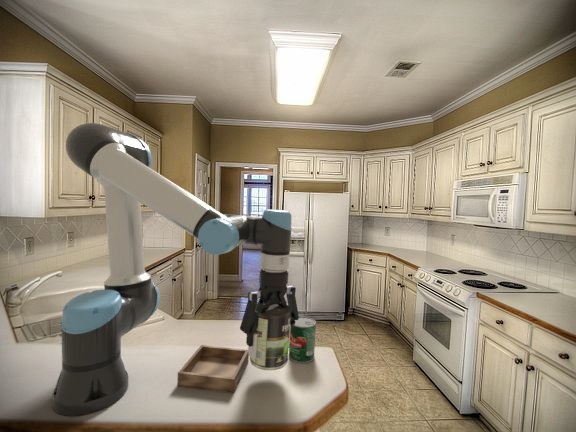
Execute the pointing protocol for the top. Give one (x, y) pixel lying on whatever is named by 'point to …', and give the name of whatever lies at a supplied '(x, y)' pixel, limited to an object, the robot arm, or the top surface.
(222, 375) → the tray
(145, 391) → the top surface
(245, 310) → the robot arm
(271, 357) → the coffee can
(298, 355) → the canned tomato
